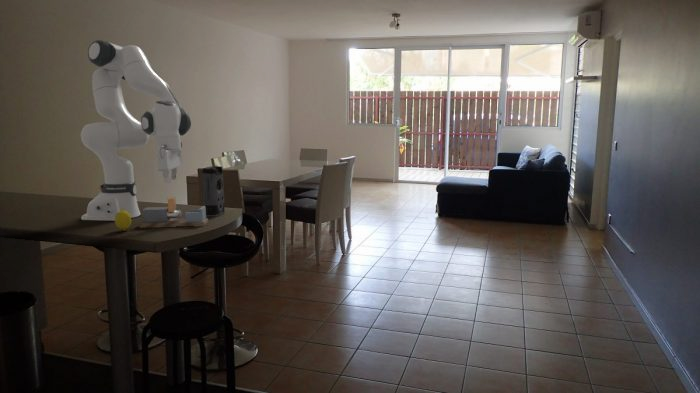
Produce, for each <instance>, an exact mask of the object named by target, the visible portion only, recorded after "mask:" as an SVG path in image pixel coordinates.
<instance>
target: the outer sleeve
mask: <svg viewBox="0 0 700 393" xmlns="http://www.w3.org/2000/svg"><path fill="white" fill-rule="evenodd" d="M141 211H142V213H143V217H142V222H143V223H157V222H168V221H170V220H171V219H172V218H167V211H168V206H155V207H154V206H152V207H148V206H146V207H145V208H143V209H142V210H141Z"/></svg>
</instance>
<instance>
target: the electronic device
mask: <svg viewBox="0 0 700 393" xmlns="http://www.w3.org/2000/svg"><path fill="white" fill-rule="evenodd" d="M223 171H224V170H223V166H220V165H213V166H212V165H211V166H206V167H203V168H201V172H202V173H201V174H202V175H201V176H202V191H203V192H202V193H203V194H202V195H203V206H205V207H206V218H207V217H208V218H210V217H211V218H216V217H219V216H220V215H223V214H225V211H226V210H225V194H224V193H225V191H224V173H223Z"/></svg>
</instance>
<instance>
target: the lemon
mask: <svg viewBox="0 0 700 393" xmlns="http://www.w3.org/2000/svg"><path fill="white" fill-rule="evenodd" d="M114 222H115V226H116V227H117V228H118V229H119V230H122V231H123V232H124V231H126V230H127V229H128V228H130V227H131V225H132V218H131V216H130V214H129V213H128V212H127V211H124V210H121V211H119V212H118V213H117V214H116V216H115V221H114Z"/></svg>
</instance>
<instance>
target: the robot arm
mask: <svg viewBox="0 0 700 393" xmlns="http://www.w3.org/2000/svg"><path fill="white" fill-rule="evenodd" d="M87 50H88V51H87V56H88V59H89V61H90V63H92V64H93V65H94V66H97V67H100V68H98V69H96V70H95V71H94V72H93V73H92V80H91V81H92V83H91V84H92V87H91V88H92V94H93V99H94V104H95V105H94V106H95V110H96V111H97V113H98V114H99V115H100V116H101V117H102V118H105V119H107V120H109V121H102V122H100V121H98V122H93V123H87V124H85V125H84V126H83V127H82V129H81V131H80V140H81V143H82V144H83V145H84V146H85V148H87V149H89V150H90V151H91V152H93V153H94V154H95V155H96V156H97V158H98V159H99V161H100V162H101V164H102V169H103V176H104V183H103V184H101V185H100V186H99V188H98V189H100V193H98V194H97V195H96V196H95V197H94V198H93V199H92V200H91V201H89V203H88V205H87V207H86V213H85V214H83V215H81V217H80V218H81V220H82V221H112V222H113V221H114V222H115V216H116V214H117V213H118V212H119V211H121V210H124V211H127V212H128V213H129V214H130V216H131V219H132V218H136V217H139V216H140V215H141V210H140V209H139V204H138V200H137V197H136V196H137V186H136V181H135V179H134V178H135V174H134V165H133V163H132V161H131V160H130V159H127V158H125V157H123V156H120V155H118V154H117V150H124V149H127V150H128V149H137V148H140V147H144V146H146V145H147V144H148V141H149V140H150V136H155V149H156V150H158V151H157V153H156V157H157V158H156V159H157V164H156V165H157V171H158V172H162V176H163V178H164V183H167V184H168V183H170V182H171V180H175V181H176V180H177V179H178V175H177V174H178V168H180V167H181V166H182V148H183V142H182V141H181V136H184V135H186V134H187V133H188V132H189V130H190V129H191V127H192V121H191V118H190V116H189V114H188V112H187V111H186V110H185V109H184V108H183V107H182V105H181V104H180V101H178V98H177V97H176V95H175V93H174V92H173V90H172V89H171V87H170V86H169V84H168V83H167V81H166V80H165V79H162V78H161V77H160V76H159V75H158V74H157V73H156V72H155V71H154V70H153V68H152V65H151V64H150V61H149V59H148V57H147V55H146V54H145V53H144V51H143V50H142V49H141V48H140V47H139V46H137V45H133V44H129V45H126V46H121V45H118V44H115V43H111V42H109V41H107V40H102V39H96V40H94V41H92V42H91V44H90V45H89V46H88V49H87ZM121 80H123V81H124V80H125V82H126V83H127V85H128V86H129V88H131V89H132V90H135V91H136V92H139V93H143V94H147V95H150V96H153V97H156V98H157V99H159V100H157V101H155V102H154V104H153V107H152V108H151V109H150V110H148V111H147V110H146V111H145V112H144V113H143V114H142V115H141V118H140V120H141V121H140V120H138V119H136V118H135V117H134V116H133V115H132V114H131V113H130V111H129V110H128V108H127V106H126V103H125V99H124V95H123V90H122V86H121ZM170 171H171V174H170ZM141 216H142V215H141Z"/></svg>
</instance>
